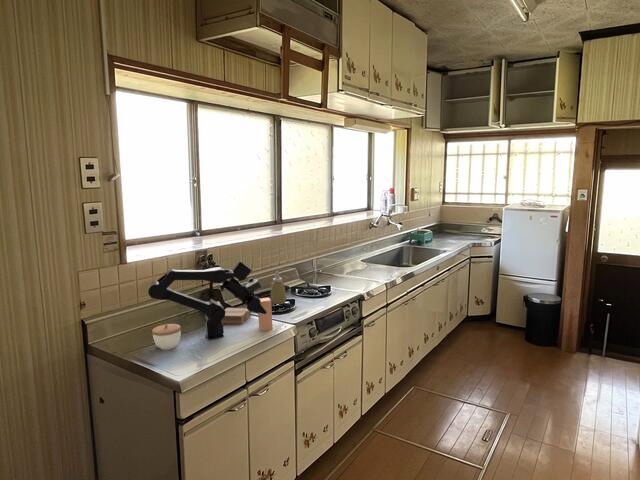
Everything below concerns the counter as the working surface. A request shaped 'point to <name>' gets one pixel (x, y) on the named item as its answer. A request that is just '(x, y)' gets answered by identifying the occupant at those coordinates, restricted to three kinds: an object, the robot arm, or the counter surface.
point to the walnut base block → (236, 315)
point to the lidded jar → (167, 336)
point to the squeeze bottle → (278, 290)
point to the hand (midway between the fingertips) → (263, 310)
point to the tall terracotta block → (265, 315)
